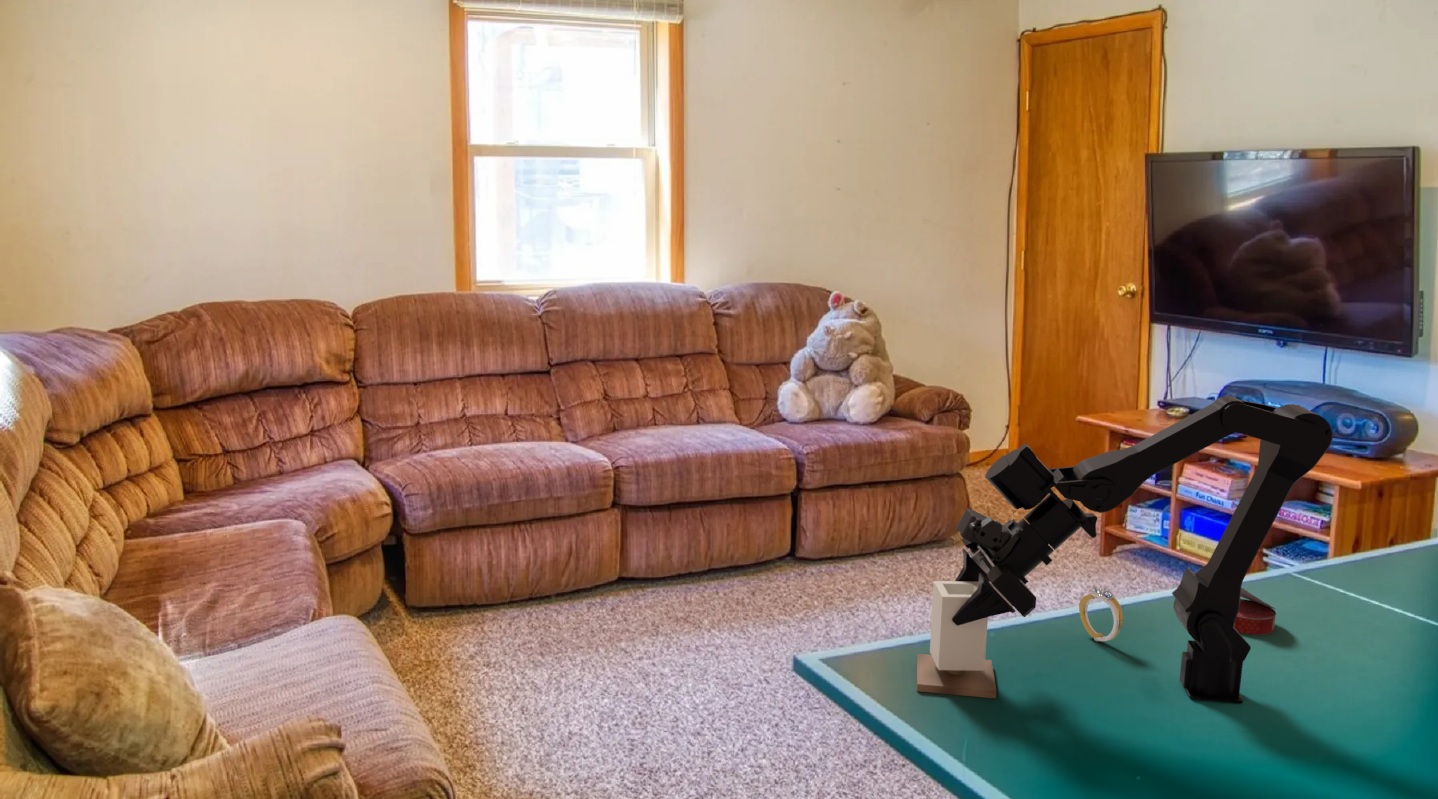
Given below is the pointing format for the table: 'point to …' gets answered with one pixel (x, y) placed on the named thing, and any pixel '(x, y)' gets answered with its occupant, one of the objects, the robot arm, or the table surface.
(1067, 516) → the robot arm
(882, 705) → the table surface
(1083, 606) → the ring
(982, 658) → the sleeve
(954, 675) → the post stand
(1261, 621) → the canned food
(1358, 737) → the table surface
